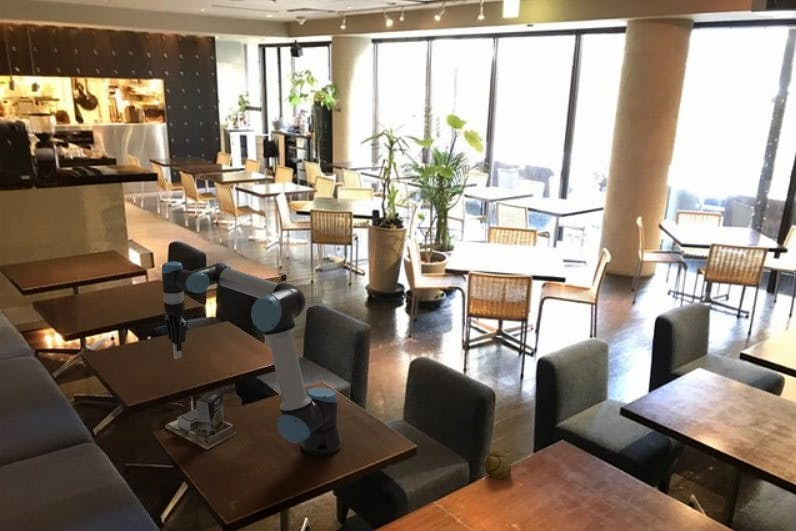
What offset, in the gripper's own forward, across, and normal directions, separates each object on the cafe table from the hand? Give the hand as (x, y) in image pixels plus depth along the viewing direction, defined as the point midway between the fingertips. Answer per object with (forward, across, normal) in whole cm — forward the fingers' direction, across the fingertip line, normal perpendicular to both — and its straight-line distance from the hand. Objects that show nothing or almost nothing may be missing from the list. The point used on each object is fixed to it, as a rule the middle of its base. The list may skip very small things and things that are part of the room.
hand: (177, 357), depth 243 cm
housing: (+27, -10, 0) cm, 29 cm away
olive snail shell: (+29, -119, -49) cm, 132 cm away
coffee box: (+27, -19, 0) cm, 33 cm away
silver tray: (+28, -12, 0) cm, 31 cm away
